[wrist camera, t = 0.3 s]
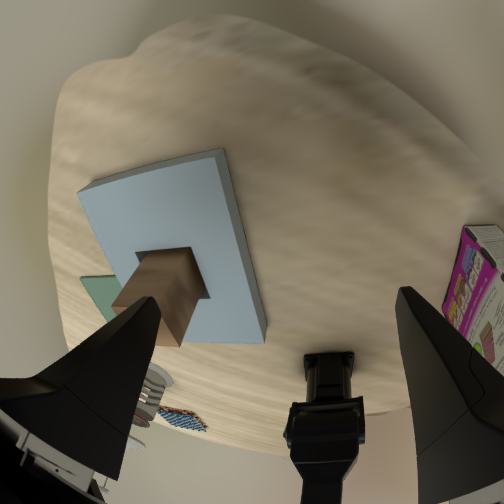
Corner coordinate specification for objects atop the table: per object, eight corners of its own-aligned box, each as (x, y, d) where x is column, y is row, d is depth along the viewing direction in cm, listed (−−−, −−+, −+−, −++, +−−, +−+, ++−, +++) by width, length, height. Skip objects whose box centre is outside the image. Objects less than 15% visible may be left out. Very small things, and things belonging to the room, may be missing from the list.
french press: (149, 387, 48) (109, 494, 28) (107, 352, 43) (53, 467, 23) (184, 386, 45) (144, 511, 24) (139, 347, 40) (79, 487, 19)
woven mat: (194, 409, 52) (192, 417, 51) (210, 425, 58) (208, 432, 56) (154, 402, 55) (151, 409, 53) (172, 419, 60) (170, 426, 59)
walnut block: (208, 276, 28) (179, 347, 21) (170, 278, 29) (135, 343, 22) (195, 238, 26) (156, 308, 19) (154, 242, 27) (110, 306, 20)
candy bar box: (473, 303, 25) (516, 423, 12) (440, 308, 26) (477, 439, 13) (498, 220, 19) (585, 349, 6) (462, 223, 20) (550, 370, 7)
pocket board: (267, 326, 31) (264, 343, 29) (161, 324, 35) (154, 339, 33) (223, 148, 20) (214, 156, 18) (91, 182, 24) (76, 193, 22)
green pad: (159, 327, 35) (158, 329, 35) (110, 323, 37) (109, 325, 37) (129, 274, 30) (128, 276, 30) (80, 276, 32) (79, 278, 32)
